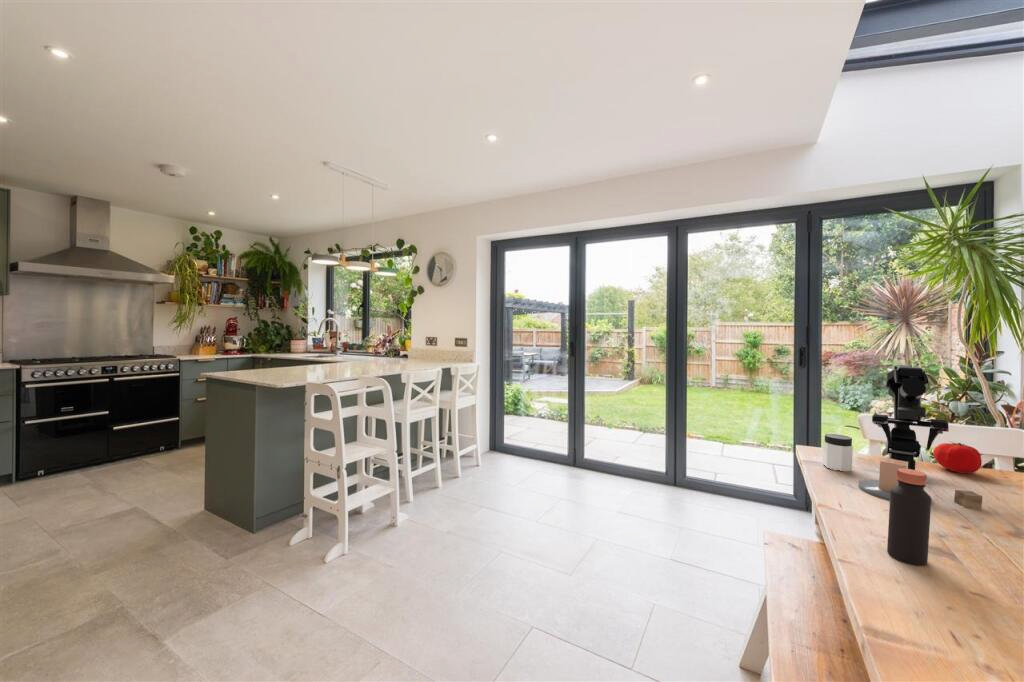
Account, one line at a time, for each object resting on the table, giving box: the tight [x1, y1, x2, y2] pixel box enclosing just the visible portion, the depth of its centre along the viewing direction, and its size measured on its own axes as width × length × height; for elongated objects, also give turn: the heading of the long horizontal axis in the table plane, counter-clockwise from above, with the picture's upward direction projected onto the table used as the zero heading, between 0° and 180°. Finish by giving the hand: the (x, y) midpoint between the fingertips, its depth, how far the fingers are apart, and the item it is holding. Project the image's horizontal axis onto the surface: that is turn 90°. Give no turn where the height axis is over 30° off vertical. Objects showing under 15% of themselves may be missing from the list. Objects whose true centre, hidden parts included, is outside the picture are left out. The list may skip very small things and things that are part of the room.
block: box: [953, 489, 983, 510], centre depth 126 cm, size 4×4×4 cm
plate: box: [857, 478, 890, 501], centre depth 135 cm, size 17×17×1 cm
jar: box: [821, 433, 854, 472], centre depth 158 cm, size 9×8×12 cm
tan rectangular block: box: [878, 456, 908, 491], centre depth 134 cm, size 6×6×9 cm
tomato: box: [932, 441, 983, 474], centre depth 157 cm, size 13×12×11 cm
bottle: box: [886, 468, 932, 566], centre depth 96 cm, size 7×7×20 cm
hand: (908, 447), depth 142 cm, fingers open, 9 cm apart
